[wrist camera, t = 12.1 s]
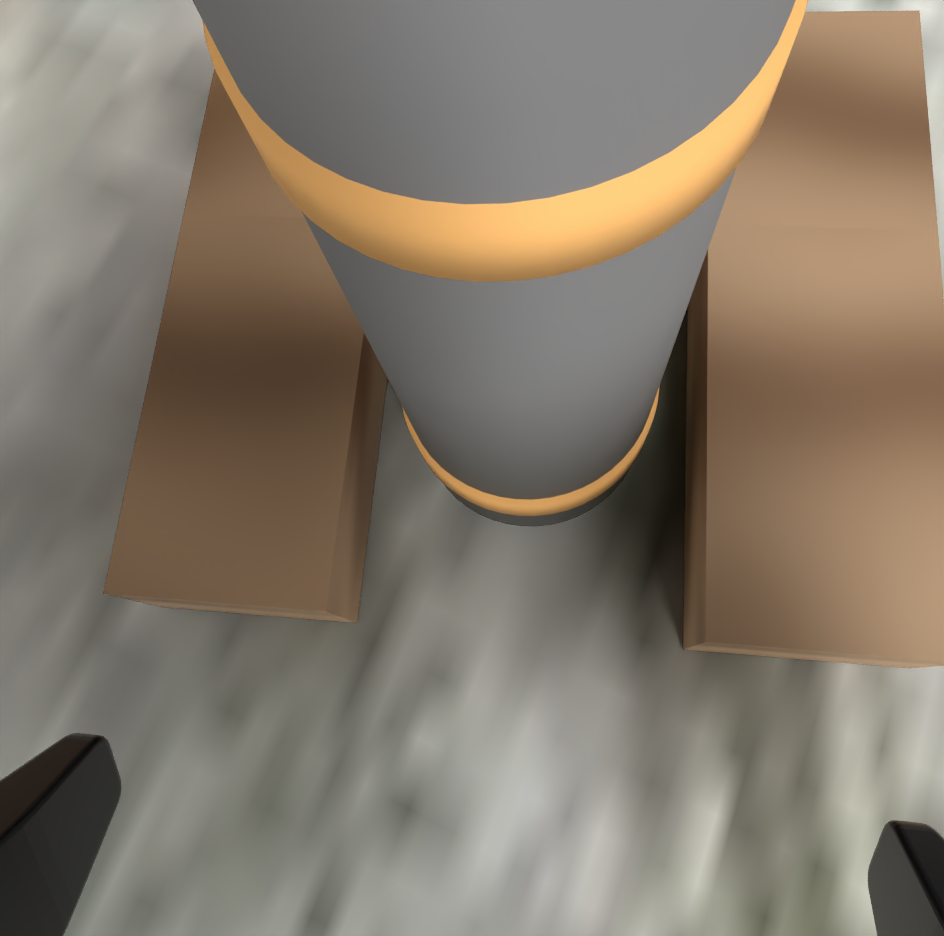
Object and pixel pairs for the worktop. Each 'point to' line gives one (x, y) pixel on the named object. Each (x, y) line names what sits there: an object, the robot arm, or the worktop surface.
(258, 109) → the orange banded cylinder
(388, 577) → the worktop surface
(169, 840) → the worktop surface
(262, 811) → the worktop surface
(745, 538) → the tan u-shaped stand
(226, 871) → the worktop surface
